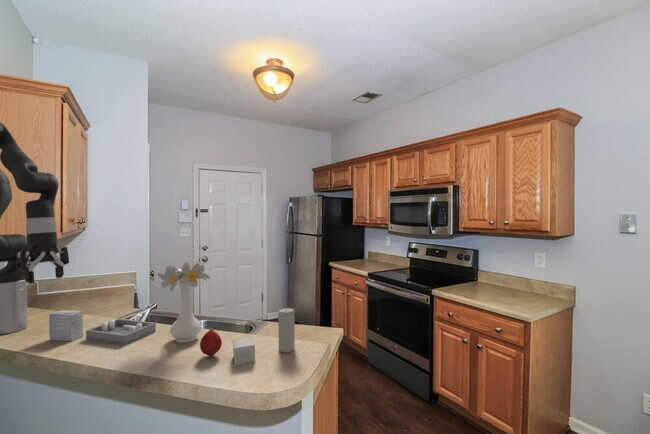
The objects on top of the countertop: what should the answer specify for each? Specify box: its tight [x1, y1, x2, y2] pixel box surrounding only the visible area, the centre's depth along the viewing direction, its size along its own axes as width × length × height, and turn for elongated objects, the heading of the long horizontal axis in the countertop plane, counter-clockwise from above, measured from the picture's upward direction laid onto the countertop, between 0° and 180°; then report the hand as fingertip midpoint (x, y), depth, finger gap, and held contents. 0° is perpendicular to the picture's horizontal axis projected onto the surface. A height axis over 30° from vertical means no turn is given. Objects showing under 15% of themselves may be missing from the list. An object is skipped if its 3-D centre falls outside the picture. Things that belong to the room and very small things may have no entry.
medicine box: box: [48, 309, 84, 342], centre depth 105 cm, size 8×4×9 cm, turn 84°
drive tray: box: [85, 318, 157, 346], centre depth 107 cm, size 16×12×4 cm
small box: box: [232, 337, 256, 366], centre depth 90 cm, size 6×6×5 cm
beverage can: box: [277, 307, 296, 354], centre depth 96 cm, size 5×5×12 cm
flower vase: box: [157, 261, 211, 344], centre depth 104 cm, size 13×18×25 cm
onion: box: [199, 328, 223, 358], centre depth 92 cm, size 6×6×8 cm
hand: (45, 280), depth 107 cm, fingers open, 8 cm apart
